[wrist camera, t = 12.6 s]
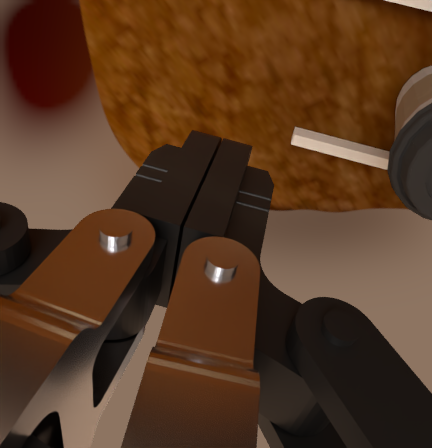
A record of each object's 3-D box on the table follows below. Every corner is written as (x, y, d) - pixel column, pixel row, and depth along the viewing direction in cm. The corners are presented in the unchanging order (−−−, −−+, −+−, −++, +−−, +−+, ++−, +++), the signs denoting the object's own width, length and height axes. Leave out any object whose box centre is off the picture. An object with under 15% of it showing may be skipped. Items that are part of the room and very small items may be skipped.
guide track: (346, -30, 36) (348, -19, 32) (587, 28, 35) (626, 48, 31) (292, 136, 47) (287, 162, 42) (476, 185, 46) (493, 217, 41)
